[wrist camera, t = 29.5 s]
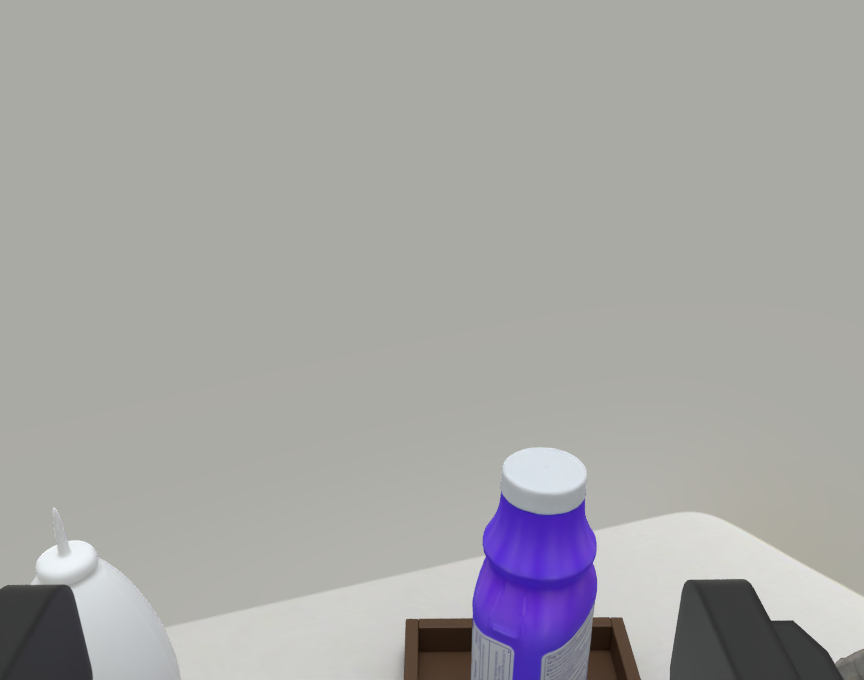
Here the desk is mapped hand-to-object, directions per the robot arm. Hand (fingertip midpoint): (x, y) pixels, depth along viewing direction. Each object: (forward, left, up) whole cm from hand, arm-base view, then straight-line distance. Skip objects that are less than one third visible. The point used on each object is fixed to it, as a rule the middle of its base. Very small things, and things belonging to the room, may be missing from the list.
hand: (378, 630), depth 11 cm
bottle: (+6, +25, -32) cm, 41 cm away
